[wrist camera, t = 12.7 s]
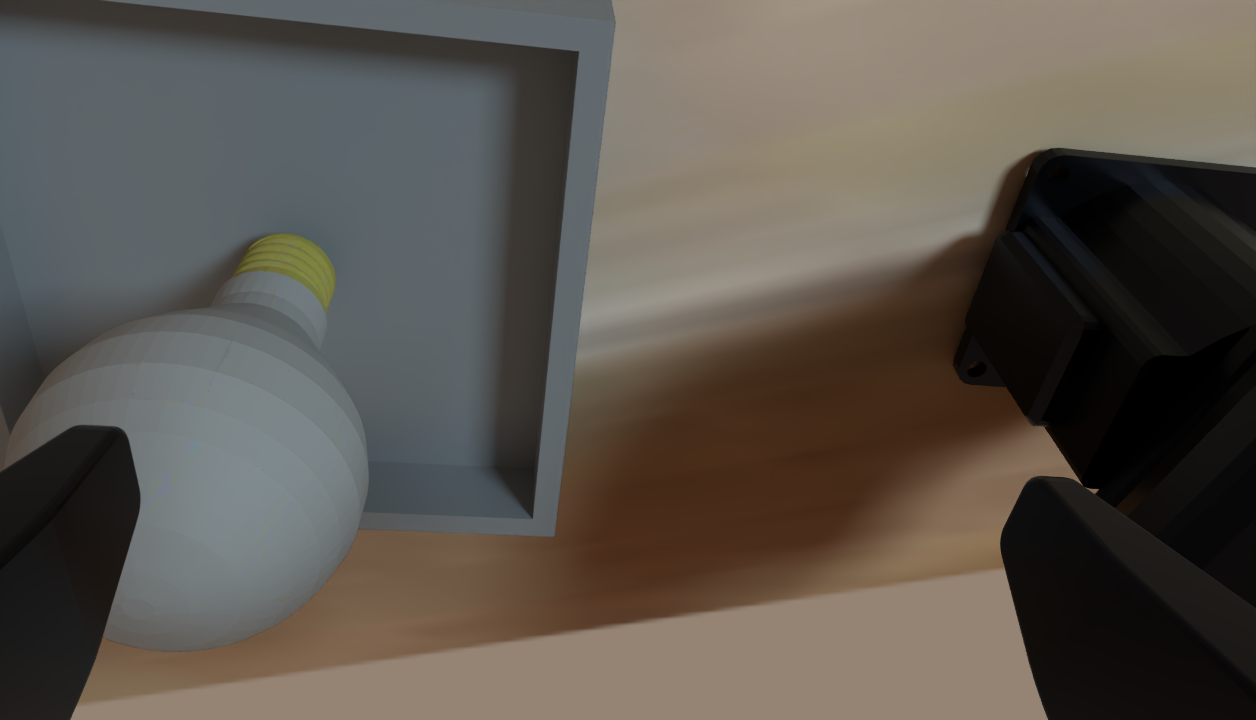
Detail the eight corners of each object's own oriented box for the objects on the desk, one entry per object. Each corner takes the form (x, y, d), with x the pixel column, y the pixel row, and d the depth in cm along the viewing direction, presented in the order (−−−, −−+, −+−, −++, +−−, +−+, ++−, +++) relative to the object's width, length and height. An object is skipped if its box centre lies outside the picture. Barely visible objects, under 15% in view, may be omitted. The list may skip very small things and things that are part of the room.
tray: (608, -15, 19) (615, 21, 17) (553, 471, 27) (554, 536, 25) (-103, -98, 18) (-189, -68, 16) (52, 447, 25) (8, 514, 23)
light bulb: (189, 355, 23) (-13, 722, 15) (148, 140, 20) (-136, 456, 12) (419, 366, 24) (347, 725, 15) (414, 160, 20) (320, 474, 12)
